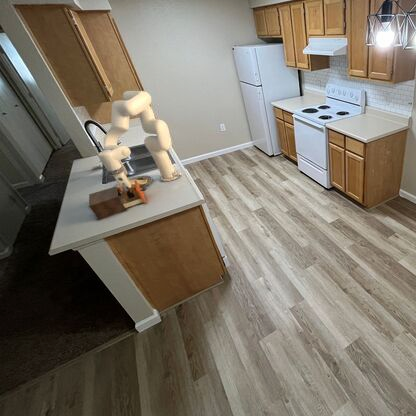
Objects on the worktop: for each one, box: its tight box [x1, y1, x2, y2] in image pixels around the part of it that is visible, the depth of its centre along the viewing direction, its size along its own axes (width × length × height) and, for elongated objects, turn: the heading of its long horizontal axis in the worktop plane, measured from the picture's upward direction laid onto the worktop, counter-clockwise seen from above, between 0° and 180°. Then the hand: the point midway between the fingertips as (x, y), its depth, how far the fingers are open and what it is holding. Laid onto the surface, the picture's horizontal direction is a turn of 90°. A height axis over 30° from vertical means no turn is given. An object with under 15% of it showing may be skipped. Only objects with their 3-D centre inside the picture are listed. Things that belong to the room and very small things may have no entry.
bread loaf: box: [121, 187, 140, 201], centre depth 168 cm, size 8×5×6 cm, turn 126°
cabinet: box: [88, 185, 127, 221], centre depth 163 cm, size 14×17×10 cm
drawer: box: [118, 180, 147, 209], centre depth 168 cm, size 17×16×10 cm
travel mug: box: [119, 160, 129, 177], centre depth 198 cm, size 6×7×20 cm
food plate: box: [113, 175, 153, 194], centre depth 186 cm, size 25×23×4 cm
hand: (131, 195), depth 169 cm, fingers closed on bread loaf, 5 cm apart
